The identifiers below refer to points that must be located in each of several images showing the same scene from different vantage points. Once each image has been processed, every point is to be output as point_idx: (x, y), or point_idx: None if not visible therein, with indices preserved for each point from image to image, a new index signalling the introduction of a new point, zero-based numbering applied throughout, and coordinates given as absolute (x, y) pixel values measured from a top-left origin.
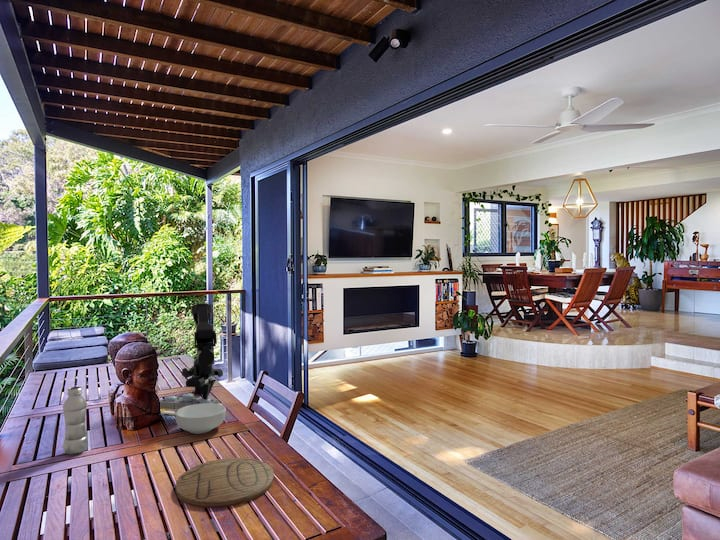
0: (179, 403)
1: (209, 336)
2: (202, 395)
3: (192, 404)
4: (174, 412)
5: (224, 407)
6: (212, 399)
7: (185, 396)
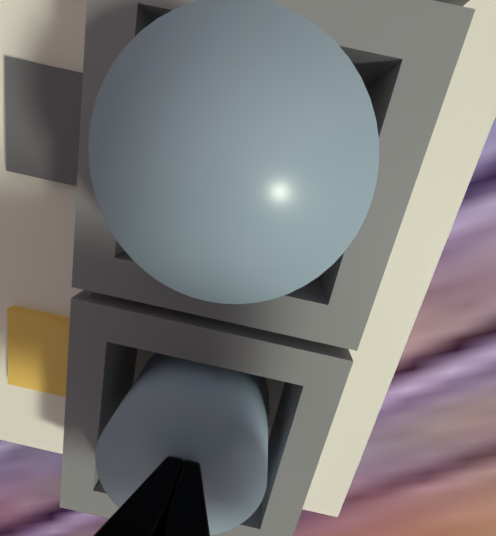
0: (85, 58)
1: None
2: (124, 506)
3: (75, 300)
4: (1, 63)
5: None
6: (282, 504)
7: (102, 149)
